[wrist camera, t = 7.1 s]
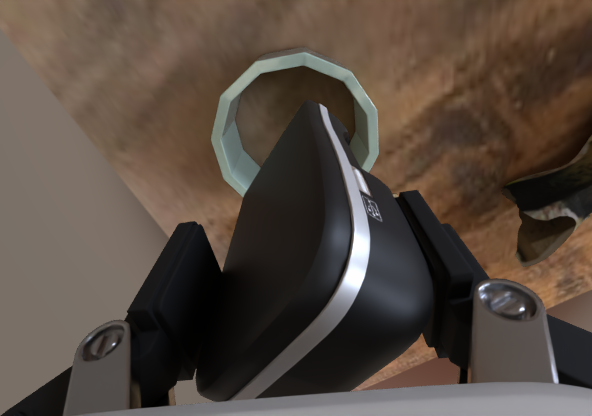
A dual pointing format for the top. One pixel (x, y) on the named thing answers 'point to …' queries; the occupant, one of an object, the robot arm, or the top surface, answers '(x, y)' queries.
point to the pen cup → (225, 134)
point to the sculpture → (551, 206)
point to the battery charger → (313, 275)
